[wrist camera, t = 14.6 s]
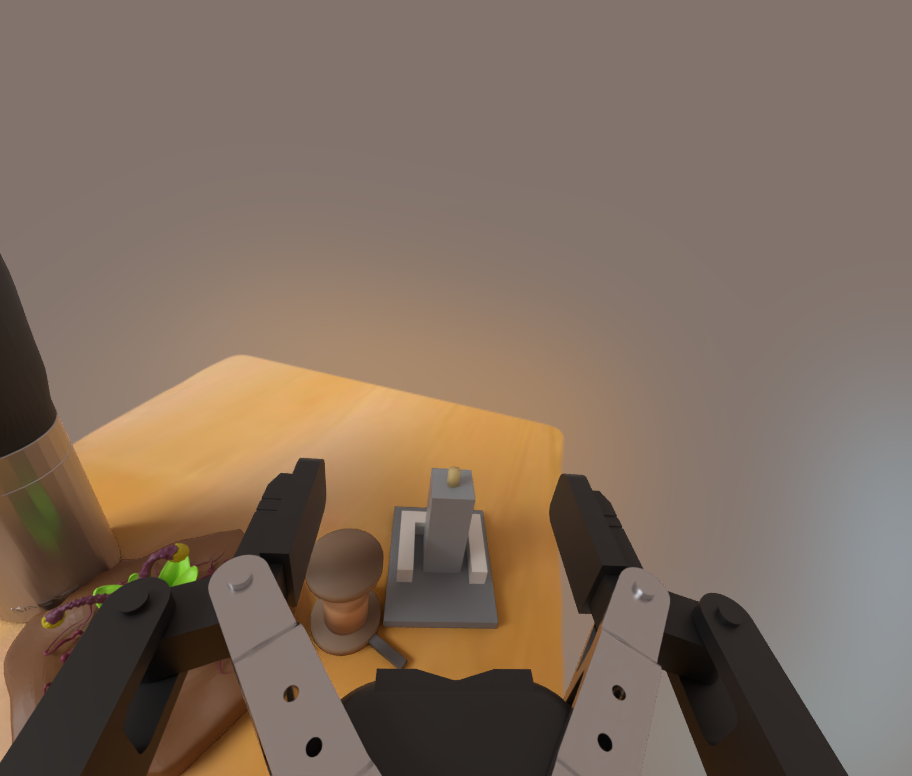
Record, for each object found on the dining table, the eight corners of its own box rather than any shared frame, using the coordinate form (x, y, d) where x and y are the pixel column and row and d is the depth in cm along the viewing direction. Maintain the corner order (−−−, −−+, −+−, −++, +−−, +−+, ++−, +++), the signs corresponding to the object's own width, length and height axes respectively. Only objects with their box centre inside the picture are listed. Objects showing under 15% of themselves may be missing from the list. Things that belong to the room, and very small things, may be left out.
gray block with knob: (460, 572, 43) (477, 487, 37) (422, 572, 43) (434, 485, 37) (457, 541, 47) (473, 458, 40) (422, 540, 46) (433, 455, 40)
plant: (331, 664, 36) (326, 588, 30) (20, 897, 24) (-88, 842, 18) (249, 519, 48) (234, 444, 42) (13, 623, 36) (-53, 538, 30)
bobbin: (302, 606, 39) (295, 545, 35) (365, 577, 43) (366, 518, 38) (336, 710, 33) (333, 652, 28) (408, 666, 36) (415, 608, 31)
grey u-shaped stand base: (496, 628, 40) (502, 610, 38) (383, 626, 39) (384, 608, 37) (481, 516, 52) (485, 499, 50) (394, 512, 51) (395, 494, 49)
